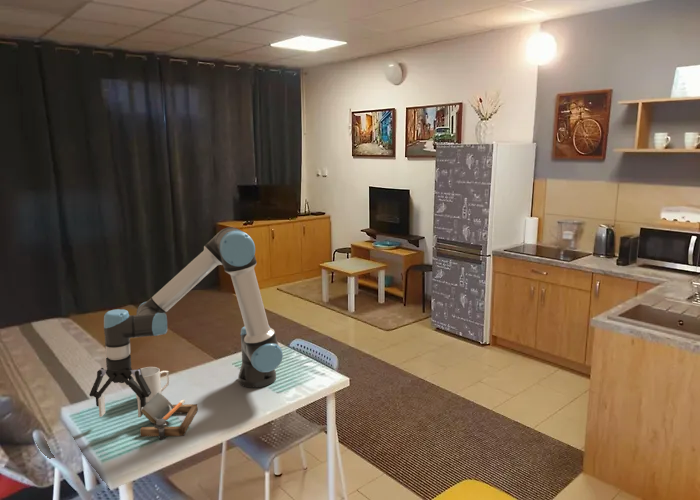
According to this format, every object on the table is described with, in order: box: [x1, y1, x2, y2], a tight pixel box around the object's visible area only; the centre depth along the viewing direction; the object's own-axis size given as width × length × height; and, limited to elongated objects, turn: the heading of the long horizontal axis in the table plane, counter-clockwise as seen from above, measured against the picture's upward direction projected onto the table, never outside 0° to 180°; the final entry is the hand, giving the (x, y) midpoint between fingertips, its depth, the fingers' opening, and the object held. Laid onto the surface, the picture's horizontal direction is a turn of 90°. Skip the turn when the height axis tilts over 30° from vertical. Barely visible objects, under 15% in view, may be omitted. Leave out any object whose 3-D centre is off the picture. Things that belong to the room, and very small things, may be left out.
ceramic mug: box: [142, 392, 174, 425], centre depth 166 cm, size 11×8×8 cm
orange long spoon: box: [156, 399, 186, 426], centre depth 164 cm, size 3×16×1 cm, turn 170°
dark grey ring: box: [153, 420, 169, 441], centre depth 158 cm, size 4×4×5 cm
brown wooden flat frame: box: [139, 403, 199, 437], centre depth 167 cm, size 14×16×2 cm
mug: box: [134, 366, 170, 404], centre depth 185 cm, size 12×9×11 cm
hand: (121, 415), depth 167 cm, fingers open, 12 cm apart
